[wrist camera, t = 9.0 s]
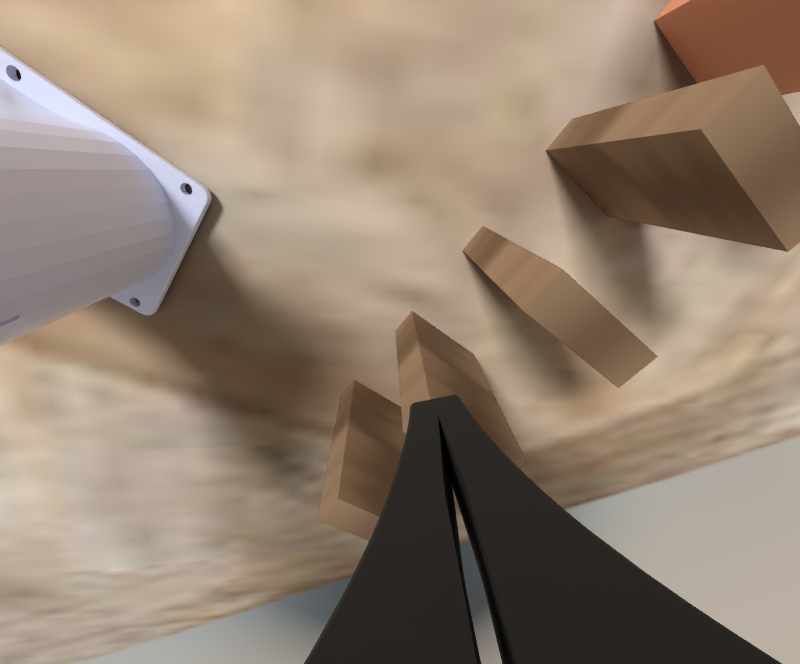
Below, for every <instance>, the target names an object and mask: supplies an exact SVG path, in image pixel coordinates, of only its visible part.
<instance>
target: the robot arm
mask: <svg viewBox="0 0 800 664" xmlns="http://www.w3.org/2000/svg"><path fill="white" fill-rule="evenodd" d="M17 69H18V70H19V72H20V74H21V80H19V79H18V77H17V75H16V70H17ZM186 184H189V185H190V186H191V188H192V193H191V194H189V193H188V192H187V191H186V189H185V185H186ZM211 199H212V198H211V194H210V192H209V190H208V189H207V188H206V187H205V186H203V185H202V184H200V183H199V182H197V181H196V180H194V179H193V178H192V177H190V176H189V175H187V174H186V173H184V172H183V171H181V170H180V169H178V168H177V167H175V166H174V165H173V164H171V163H170V162H168V161H167V160H165V159H164V158H162V157H161V156H159V155H158V154H156V153H155V152H154V151H152V150H151V149H149V148H148V147H146V146H145V145H143V144H142V143H140V142H139V141H137V140H136V139H135V138H133V137H132V136H130V135H129V134H127V133H126V132H124V131H123V130H121V129H120V128H118V127H117V126H116V125H114V124H113V123H111V122H110V121H108V120H107V119H105V118H104V117H102V116H101V115H100V114H98V113H97V112H95V111H94V110H92V109H91V108H89V107H88V106H86V105H85V104H83V103H82V102H81V101H79V100H78V99H76V98H75V97H73V96H72V95H70V94H69V93H67V92H66V91H64V90H63V89H62V88H60V87H59V86H57V85H56V84H54V83H53V82H51V81H50V80H48V79H47V78H45V77H44V76H43V75H41V74H40V73H38V72H37V71H35V70H34V69H32V68H31V67H29V66H28V65H26V64H25V63H24V62H22V61H21V60H19V59H18V58H16V57H15V56H13V55H12V54H10V53H9V52H7V51H6V50H5V49H3V48H2V47H0V346H1V345H3V344H5V343H7V342H10V341H12V340H14V339H16V338H18V337H21V336H23V335H25V334H27V333H30V332H32V331H34V330H36V329H38V328H41V327H43V326H45V325H47V324H49V323H52V322H54V321H56V320H58V319H61V318H63V317H65V316H67V315H69V314H72V313H74V312H76V311H78V310H80V309H83V308H85V307H87V306H89V305H92V304H94V303H96V302H98V301H100V300H103V299H105V298H107V297H111V298H113V299H115V300H116V301H118V302H120V303H122V304H124V305H126V306H128V307H130V308H132V309H133V310H135V311H137V312H139V313H141V314H143V315H152V314H154V313H156V312H157V311H158V309H159V307H160V305H161V303H162V301H163V299H164V297H165V295H166V293H167V290H168V288H169V286H170V284H171V282H172V280H173V278H174V276H175V274H176V272H177V270H178V268H179V266H180V264H181V262H182V260H183V258H184V256H185V254H186V252H187V250H188V248H189V246H190V244H191V242H192V240H193V237H194V235H195V233H196V231H197V229H198V227H199V225H200V223H201V221H202V219H203V217H204V215H205V213H206V211H207V209H208V207H209V205H210V203H211ZM135 298H137V299H138V300H139V301H140V304H139V303H137V302H136V301H135ZM452 486H453V488H452ZM453 489H454V492H455V495H456V499H457V502H458V505H459V508H460V511H461V514H462V517H463V521H464V524H465V527H466V530H467V533H468V536H469V539H470V542H471V546H472V549H473V552H474V555H475V558H476V561H477V564H478V568H479V571H480V574H481V578H482V581H483V585H484V589H485V592H486V596H487V601H488V605H489V609H490V613H491V617H492V621H493V626H494V630H495V634H496V638H497V643H498V647H499V651H500V655H501V659H502V664H781V663H780V662H778V661H777V660H775V659H774V658H772V657H771V656H769V655H768V654H766V653H764V652H763V651H761V650H759V649H758V648H757V647H755V646H754V645H752V644H750V643H749V642H747V641H746V640H744V639H742V638H741V637H739V636H738V635H736V634H735V633H733V632H732V631H730V630H729V629H727V628H726V627H724V626H723V625H721V624H720V623H718V622H717V621H715V620H714V619H712V618H711V617H709V616H708V615H706V614H705V613H703V612H702V611H700V610H699V609H697V608H696V607H694V606H693V605H691V604H690V603H688V602H687V601H685V600H684V599H682V598H681V597H680V596H678V595H677V594H675V593H674V592H672V591H671V590H670V589H668V588H667V587H665V586H664V585H663V584H661V583H660V582H658V581H657V580H655V579H654V578H652V577H651V576H650V575H648V574H647V573H645V572H644V571H643V570H641V569H640V568H639V567H637V566H636V565H635V564H633V563H632V562H631V561H629V560H628V559H627V558H625V557H624V556H623V555H621V554H620V553H619V552H617V551H616V550H615V549H613V548H612V547H611V546H609V545H608V544H607V543H605V542H604V541H603V540H601V539H600V538H599V537H597V536H596V535H595V534H593V533H592V532H591V531H589V530H588V529H587V528H586V527H585V526H583V525H582V524H581V523H580V522H578V521H577V520H576V519H575V518H574V517H572V516H571V515H570V514H569V513H567V512H566V511H565V510H564V509H563V508H562V507H560V506H559V505H558V504H557V503H556V502H555V501H554V500H552V499H551V498H550V497H549V496H548V495H547V494H546V493H544V492H543V491H542V490H541V489H540V488H539V487H538V486H537V485H536V484H535V483H534V482H532V481H531V480H530V479H529V478H528V477H527V476H526V475H525V474H524V473H523V472H522V471H521V470H520V469H519V468H518V467H517V466H516V465H515V464H514V463H513V462H512V461H511V460H510V459H509V458H508V457H507V456H506V455H505V454H504V453H503V452H502V450H501V449H500V448H499V447H498V446H497V445H496V444H495V443H494V442H493V440H492V439H491V438H490V437H489V436H488V435H487V434H486V433H485V431H484V430H483V429H482V428H481V427H480V425H479V424H478V423H477V422H476V420H475V419H474V418H473V416H472V415H471V414H470V412H469V411H468V410H467V408H466V407H465V405H464V404H463V402H462V400H461V399H460V397H459V396H457V395H450V396H445V397H440V398H435V399H430V400H425V401H420V402H415V403H413V404H412V405H411V406H410V415H409V422H408V428H407V433H406V437H405V442H404V446H403V449H402V453H401V457H400V460H399V464H398V467H397V470H396V473H395V476H394V479H393V482H392V485H391V488H390V491H389V494H388V497H387V500H386V502H385V505H384V507H383V510H382V513H381V515H380V517H379V520H378V522H377V525H376V527H375V529H374V532H373V534H372V536H371V539H370V541H369V543H368V545H367V547H366V549H365V551H364V554H363V556H362V558H361V560H360V562H359V564H358V566H357V568H356V570H355V572H354V574H353V576H352V578H351V580H350V582H349V584H348V586H347V588H346V590H345V592H344V594H343V596H342V598H341V599H340V601H339V603H338V605H337V607H336V608H335V610H334V612H333V614H332V616H331V617H330V619H329V621H328V623H327V625H326V626H325V628H324V630H323V632H322V633H321V635H320V637H319V639H318V641H317V643H316V644H315V646H314V648H313V650H312V651H311V653H310V655H309V656H308V658H307V660H306V662H305V663H304V664H481V661H480V656H479V652H478V647H477V641H476V636H475V632H474V627H473V622H472V617H471V613H470V607H469V602H468V597H467V592H466V586H465V580H464V573H463V566H462V558H461V550H460V542H459V535H458V527H457V519H456V511H455V504H454V496H453Z"/></svg>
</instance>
